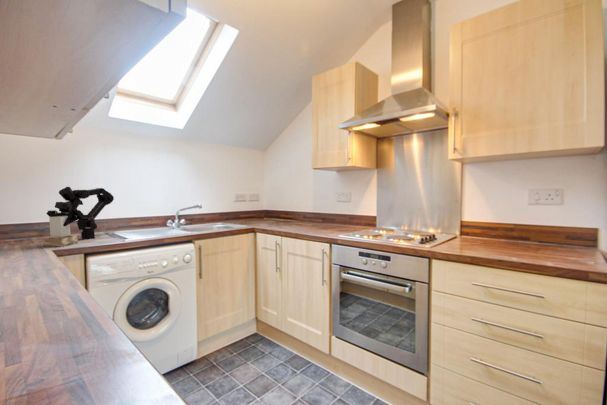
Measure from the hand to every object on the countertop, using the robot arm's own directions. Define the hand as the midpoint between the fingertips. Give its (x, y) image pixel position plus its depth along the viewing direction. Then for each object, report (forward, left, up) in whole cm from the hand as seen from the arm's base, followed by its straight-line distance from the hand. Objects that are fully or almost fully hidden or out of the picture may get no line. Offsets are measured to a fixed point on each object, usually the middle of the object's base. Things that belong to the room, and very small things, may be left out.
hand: (58, 226), depth 169 cm
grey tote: (-1, -1, -7) cm, 7 cm away
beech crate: (-1, -1, -11) cm, 11 cm away
